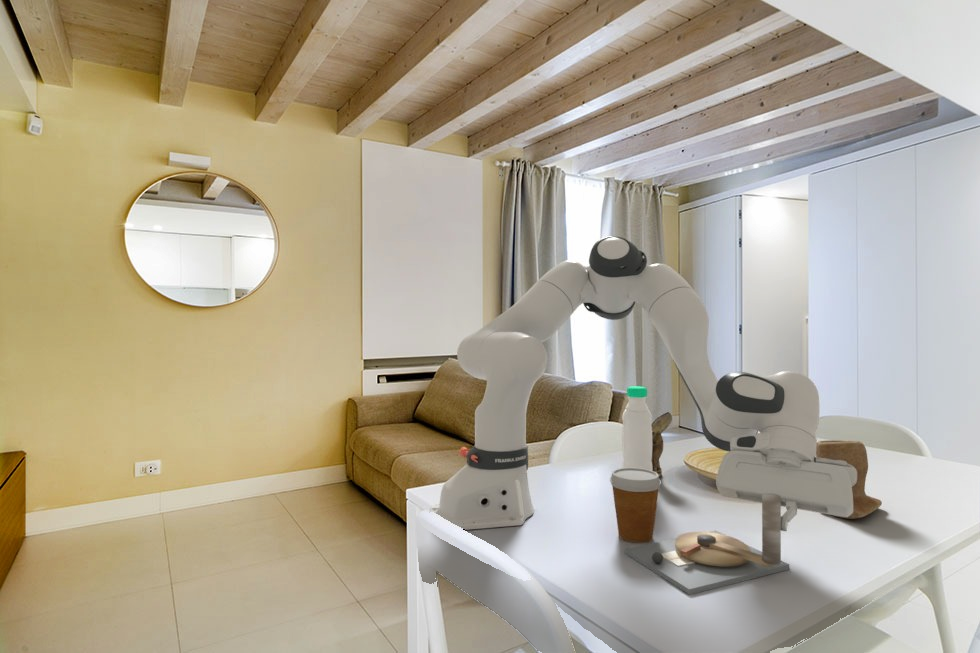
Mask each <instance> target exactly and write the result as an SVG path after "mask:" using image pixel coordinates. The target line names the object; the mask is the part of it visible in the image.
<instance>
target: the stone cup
mask: <svg viewBox="0 0 980 653" xmlns="http://www.w3.org/2000/svg"><path fill="white" fill-rule="evenodd" d="M816 457H818V458H826V459H831V460H842V461H846V462H847V464H850V465H852V466H853V467H854V468H855V469H856V470H857V482H856V484H855V485H854V486H852V493H853V513H852V514H851V515H850V516H848V517H841V516H835V515H833V517H836V518H841V519H848V520H849V519H852V520H853V519H861V518H864V517H866V516H868V515H870V514H872V513H873V512H875V511H877V510H878V509H879V508H880V507H881V506H882V502H883V501H882V500H881V499H878V498H875V497H872V496H869V495H867V494H866V489H865V488H866V480H867V479H866V478H867V475H868V471H869V459H868V453H867V448H866V446H865V444H864V443H863V441H859V440H842V439H841V440H840V439H839V440H838V439H837V440H836V439H830V440H829V439H828V440H827V439H826V440H819V441H817V447H816ZM847 467H849V466H847Z"/></svg>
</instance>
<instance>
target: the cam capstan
mask: <svg viewBox="0 0 980 653" xmlns="http://www.w3.org/2000/svg"><path fill="white" fill-rule="evenodd" d="M761 506H762V507H761V510H762V511H761V520H762V521H761V523H762V524H761V525H762V526H761V532H762V533H761V534H762V535H761V542H762V543H761V552H762V555H759V554H756V553H753V552H750V548H749V547H748V546H749V545H748V544H746V543H745V542H743V541H742V540H740V539H737V538H735V537H733V536H729V535H727V534H725V535H723V534H724V533H722V534H718V533H711V532H710V531H690V532H685V533H682V534H681V533H680V535H678V536H677V537H675V539H676V540H675V548H676V550H677V552H678V553H679V554H681V555H682V556H684V557H685V558H688V559H690V560H692V561H695V562H698V563H702V564H706V565H712V566H723V567H729V566H738V565H742V564H745V563H747V562H748V561H749V560H750V561H753V562H756V563H759V564H762V565H765V566H768V567H771V566H773V565H779V564H781V561H782V559H781V558H782V557H781V556H782V554H781V552H782V551H781V549H782V547H781V545H782V543H781V542H782V539H781V538H782V531H781V516H782V515H781V514H782V512H781V509H782V508H781V507H782V506H781V497H780V496H779V495H777V494H772V493H764V494H762V503H761ZM747 545H748V546H747Z"/></svg>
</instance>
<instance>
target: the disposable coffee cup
mask: <svg viewBox="0 0 980 653" xmlns="http://www.w3.org/2000/svg"><path fill="white" fill-rule="evenodd" d="M609 482H610V485H611V486H612V493H613V494H612V495H613V501H614V503H613V504H614V510H615V517H616V525H617V532H618V537H619V538H620V539H622V540H624V541H626V542H630V543H647V542H651V541H652V540H653V539H654V538H653V537H654V530H655V523H656V522H655V520H656V514H657V513H656V512H657V506H658V496H659V488H661V485H662V481H661V480H660V477H659V475H658V473H656V472H654V471H651V470H648V469H642V468H622V467H621V468H617V469H614V470H612V472H611V475H610V477H609Z"/></svg>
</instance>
